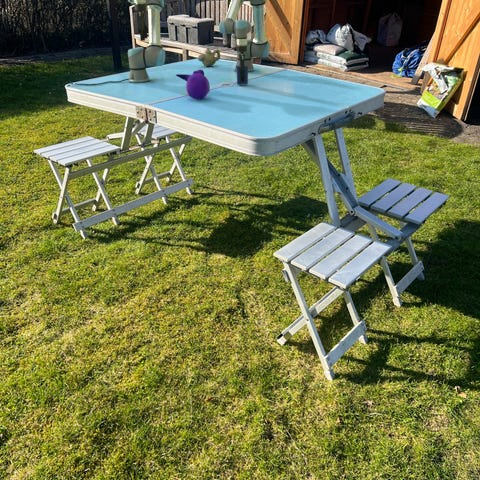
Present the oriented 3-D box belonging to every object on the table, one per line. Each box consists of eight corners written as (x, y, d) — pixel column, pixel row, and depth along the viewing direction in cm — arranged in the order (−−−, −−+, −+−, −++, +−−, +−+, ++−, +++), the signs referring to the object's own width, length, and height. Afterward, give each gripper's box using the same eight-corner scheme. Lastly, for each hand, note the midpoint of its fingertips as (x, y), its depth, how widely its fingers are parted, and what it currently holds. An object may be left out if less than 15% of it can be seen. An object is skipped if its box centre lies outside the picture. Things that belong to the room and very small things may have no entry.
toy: (198, 91, 303) (209, 105, 283) (173, 86, 296) (182, 100, 275) (203, 67, 295) (215, 79, 275) (177, 62, 288) (187, 74, 267)
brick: (247, 82, 322) (247, 65, 315) (247, 84, 318) (247, 66, 311) (237, 83, 321) (236, 65, 315) (237, 84, 317) (236, 66, 311)
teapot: (201, 68, 381) (200, 49, 373) (195, 66, 389) (194, 48, 382) (223, 65, 390) (222, 47, 382) (217, 64, 399) (216, 45, 391)
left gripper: (137, 3, 298) (141, 37, 308) (131, 4, 276) (135, 41, 287) (148, 2, 298) (152, 37, 309) (143, 4, 277) (147, 41, 287)
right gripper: (235, 43, 314) (236, 78, 326) (236, 47, 299) (237, 83, 311) (246, 43, 314) (246, 77, 326) (248, 46, 299) (248, 83, 311)
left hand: (144, 39), depth 298 cm, fingers open, 13 cm apart
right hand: (242, 80), depth 318 cm, fingers closed on brick, 5 cm apart
